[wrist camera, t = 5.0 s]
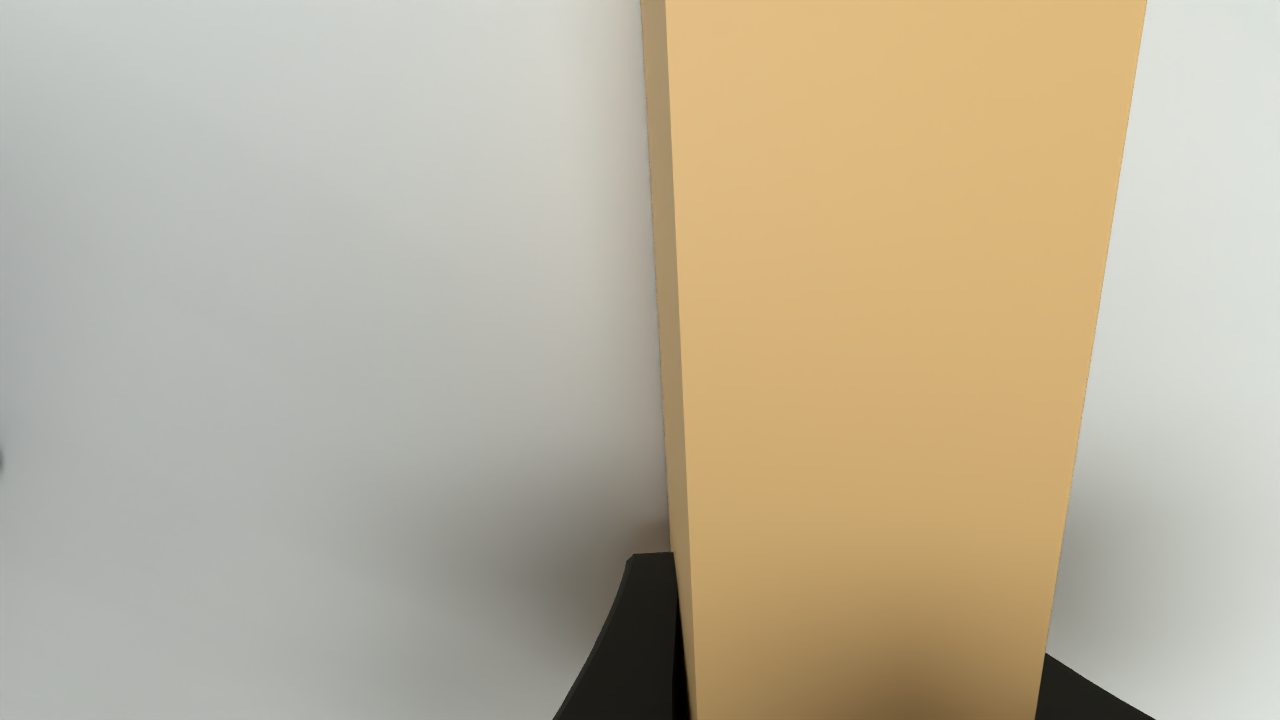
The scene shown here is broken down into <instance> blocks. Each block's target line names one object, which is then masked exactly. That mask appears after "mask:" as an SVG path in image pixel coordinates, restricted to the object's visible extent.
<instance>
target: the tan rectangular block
mask: <svg viewBox="0 0 1280 720" xmlns="http://www.w3.org/2000/svg"><path fill="white" fill-rule="evenodd" d="M640 1H641V19H642V37H643V55H644V73H645V91H646V109H647V128H648V146H649V164H650V182H651V200H652V218H653V236H654V254H655V273H656V291H657V309H658V327H659V345H660V363H661V381H662V399H663V417H664V436H665V454H666V472H667V490H668V508H669V526H670V544H671V552H673V553H674V561H675V568H676V577H677V585H678V602H679V622H680V641H681V660H682V679H683V698H684V717H685V720H1035V714H1036V707H1037V701H1038V694H1039V688H1040V682H1041V675H1042V669H1043V662H1044V656H1045V650H1046V643H1047V637H1048V631H1049V624H1050V618H1051V611H1052V605H1053V599H1054V592H1055V586H1056V579H1057V573H1058V567H1059V560H1060V554H1061V547H1062V541H1063V535H1064V528H1065V522H1066V516H1067V509H1068V503H1069V496H1070V490H1071V484H1072V477H1073V471H1074V464H1075V458H1076V452H1077V445H1078V439H1079V433H1080V426H1081V420H1082V413H1083V407H1084V401H1085V394H1086V388H1087V381H1088V375H1089V369H1090V362H1091V356H1092V350H1093V343H1094V337H1095V330H1096V324H1097V318H1098V311H1099V305H1100V298H1101V292H1102V286H1103V279H1104V273H1105V267H1106V260H1107V254H1108V247H1109V241H1110V235H1111V228H1112V222H1113V215H1114V209H1115V203H1116V196H1117V190H1118V183H1119V177H1120V171H1121V164H1122V158H1123V152H1124V145H1125V139H1126V132H1127V126H1128V120H1129V113H1130V107H1131V100H1132V94H1133V88H1134V81H1135V75H1136V69H1137V62H1138V56H1139V49H1140V43H1141V37H1142V30H1143V24H1144V17H1145V11H1146V5H1147V0H640Z"/></svg>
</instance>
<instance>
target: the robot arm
mask: <svg viewBox="0 0 1280 720" xmlns="http://www.w3.org/2000/svg"><path fill="white" fill-rule="evenodd" d="M553 720H685V717H684V698H683V679H682V660H681V641H680V622H679V602H678V585H677V577H676V568H675V561H674V553H673V552H663V553H645V554H633V555H632V556H631V557H630V558H629V559H628V560H627V561H626V566H625V571H624V574H623V578H622V581H621V584H620V587H619V590H618V592H617V595H616V598H615V600H614V603H613V605H612V608H611V610H610V612H609V615H608V617H607V619H606V621H605V623H604V626H603V628H602V630H601V632H600V634H599V636H598V638H597V640H596V642H595V645H594V647H593V649H592V651H591V653H590V655H589V657H588V659H587V661H586V663H585V664H584V666H583V668H582V670H581V671H580V673H579V675H578V677H577V679H576V680H575V682H574V684H573V686H572V687H571V689H570V691H569V693H568V695H567V696H566V698H565V700H564V702H563V703H562V705H561V707H560V708H559V710H558V712H557V713H556V715H555V716H554V718H553ZM1035 720H1156V719H1154V718H1152V717H1150V716H1148V715H1147V714H1145V713H1143V712H1141V711H1140V710H1138V709H1136V708H1134V707H1133V706H1131V705H1129V704H1127V703H1125V702H1124V701H1122V700H1120V699H1119V698H1117V697H1115V696H1114V695H1112V694H1110V693H1109V692H1107V691H1105V690H1104V689H1102V688H1100V687H1099V686H1097V685H1095V684H1094V683H1092V682H1090V681H1089V680H1087V679H1086V678H1084V677H1083V676H1081V675H1079V674H1078V673H1076V672H1075V671H1073V670H1072V669H1070V668H1069V667H1067V666H1065V665H1064V664H1062V663H1061V662H1059V661H1058V660H1056V659H1055V658H1053V657H1052V656H1050V655H1048V654H1047V653H1045V656H1044V662H1043V669H1042V675H1041V682H1040V688H1039V694H1038V701H1037V707H1036V714H1035Z"/></svg>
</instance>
